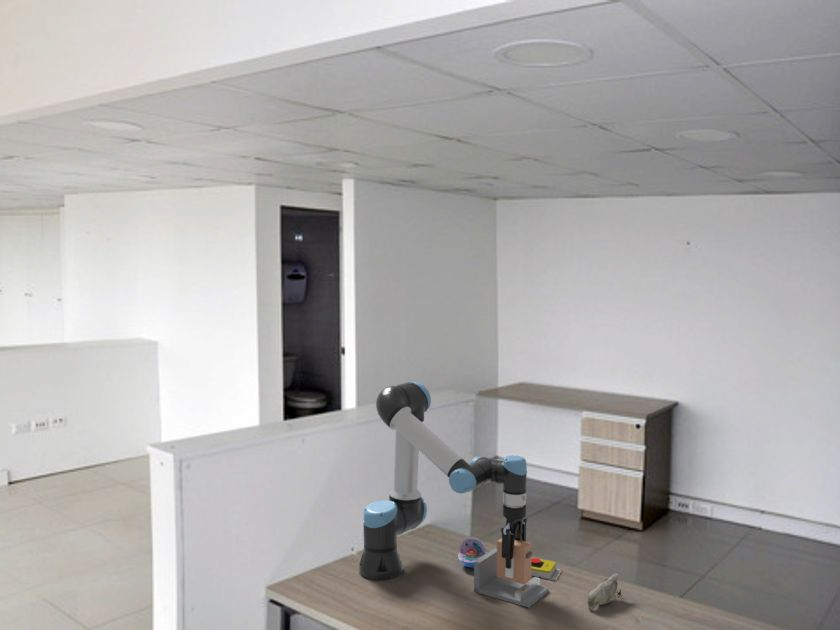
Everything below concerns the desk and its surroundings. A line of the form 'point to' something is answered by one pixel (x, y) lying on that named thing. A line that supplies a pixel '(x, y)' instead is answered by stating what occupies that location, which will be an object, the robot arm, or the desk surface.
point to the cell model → (471, 551)
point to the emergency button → (544, 569)
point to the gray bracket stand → (500, 582)
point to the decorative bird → (603, 592)
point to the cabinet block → (516, 561)
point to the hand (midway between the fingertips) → (513, 573)
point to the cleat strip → (527, 589)
